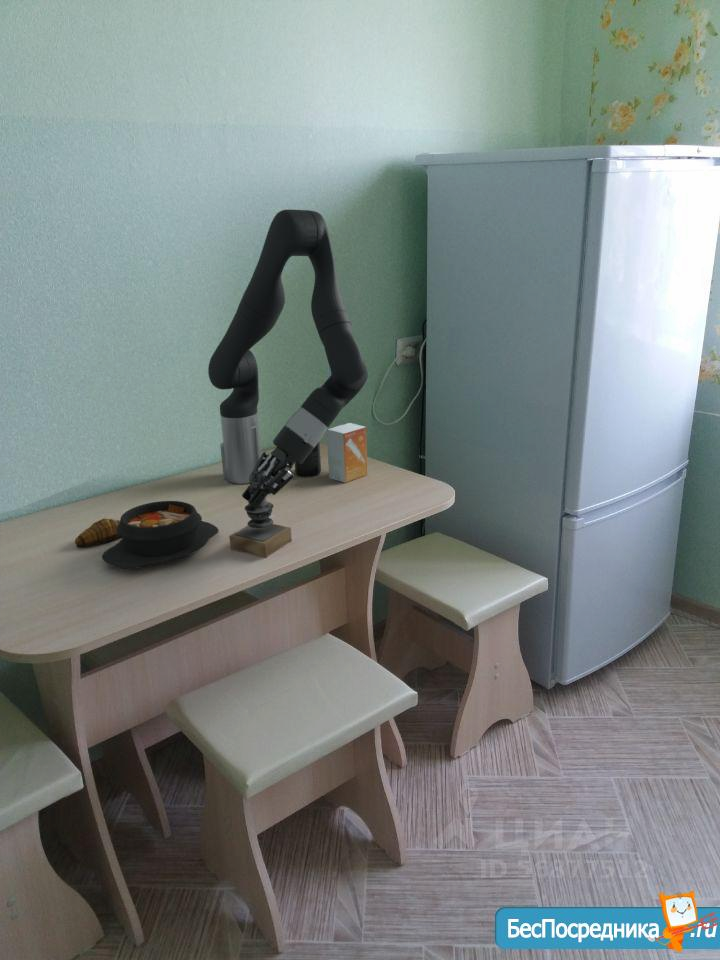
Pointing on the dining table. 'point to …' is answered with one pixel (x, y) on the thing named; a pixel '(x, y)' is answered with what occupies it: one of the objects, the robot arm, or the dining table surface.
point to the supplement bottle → (310, 464)
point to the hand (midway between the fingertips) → (248, 502)
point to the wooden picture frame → (260, 539)
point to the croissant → (99, 533)
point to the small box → (347, 452)
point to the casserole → (158, 534)
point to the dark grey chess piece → (264, 509)
